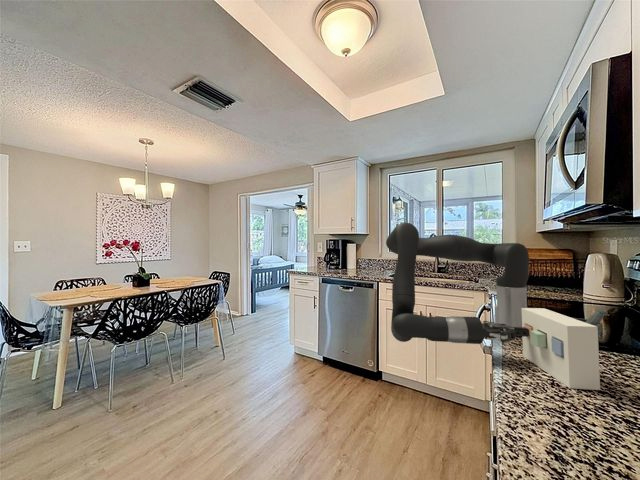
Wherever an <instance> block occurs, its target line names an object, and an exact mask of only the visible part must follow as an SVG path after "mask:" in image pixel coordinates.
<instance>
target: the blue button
mask: <svg viewBox="0 0 640 480" xmlns="http://www.w3.org/2000/svg"><path fill="white" fill-rule="evenodd" d="M551 343H552V352H554V353H556V354H557V355H559V356H564V344H563V341H561V340H559V339H557V338H551Z"/></svg>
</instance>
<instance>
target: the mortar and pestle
mask: <svg viewBox="0 0 640 480" xmlns="http://www.w3.org/2000/svg"><path fill="white" fill-rule="evenodd" d="M608 313H609V312H608V311H607V310H605V309H604V308H602V307H597V308H595V311H594V312H593V313H592V314H591V315H590V316H589V317H588V318H587V319H586V318H577V317H573V318H574V319H576V320H579V321H582V322H585V323H588V324H591V325H594V326H597V327H598V338H599V337H600V335H601V334H602V332H603V323H601V321H602V320H603V319H604V317H605V316H606V315H608Z"/></svg>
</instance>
